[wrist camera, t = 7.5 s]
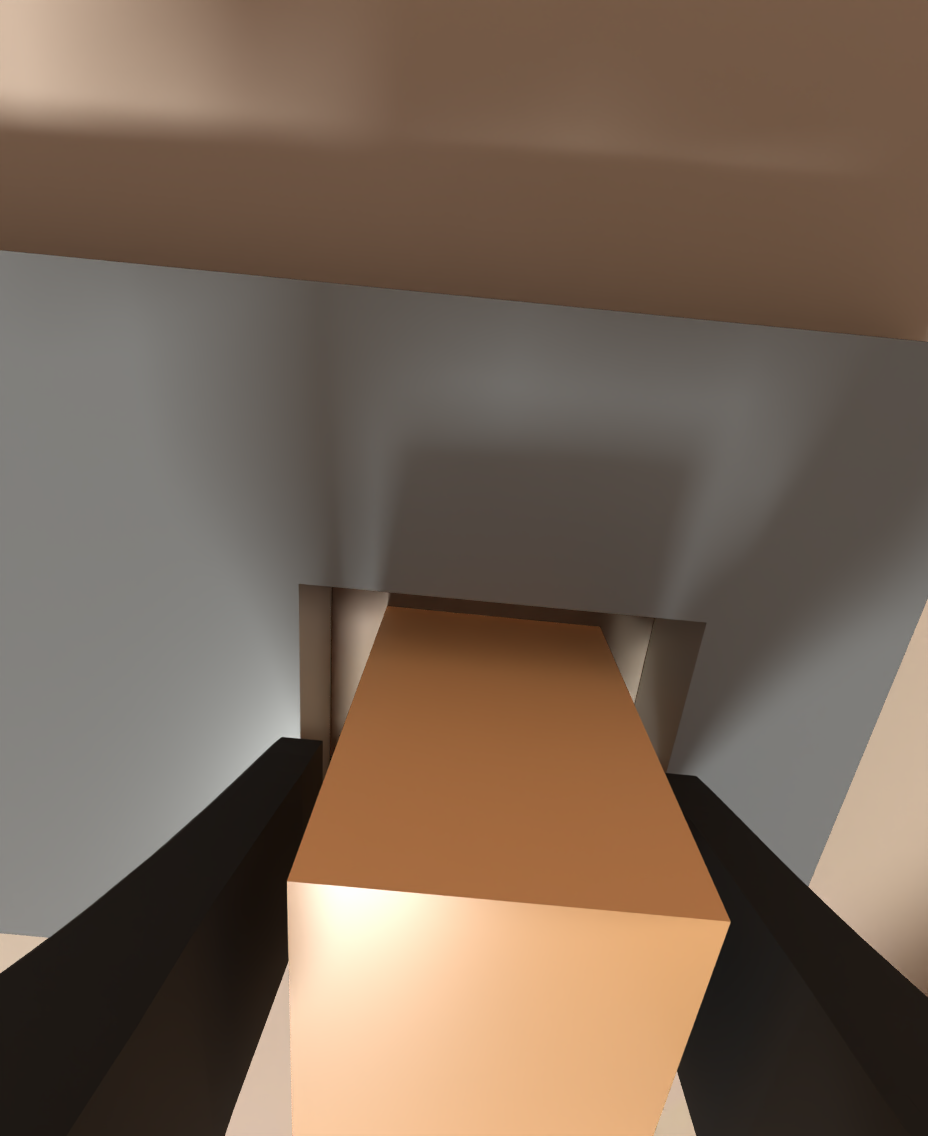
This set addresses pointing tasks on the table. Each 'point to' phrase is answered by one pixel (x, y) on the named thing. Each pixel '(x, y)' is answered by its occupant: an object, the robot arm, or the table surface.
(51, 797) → the socket plate
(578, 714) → the orange rectangular block
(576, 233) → the table surface
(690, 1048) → the robot arm
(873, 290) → the table surface
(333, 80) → the table surface
